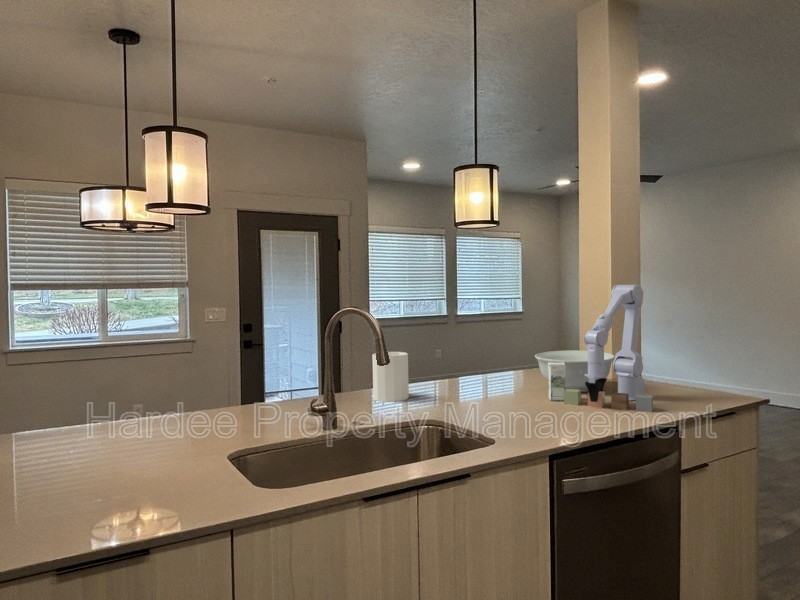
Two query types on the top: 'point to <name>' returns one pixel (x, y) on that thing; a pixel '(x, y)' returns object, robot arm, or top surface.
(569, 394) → the olive block
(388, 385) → the container
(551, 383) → the syrup box
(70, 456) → the top surface
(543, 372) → the bowl
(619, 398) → the walnut block
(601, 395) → the terracotta block
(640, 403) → the slate block
